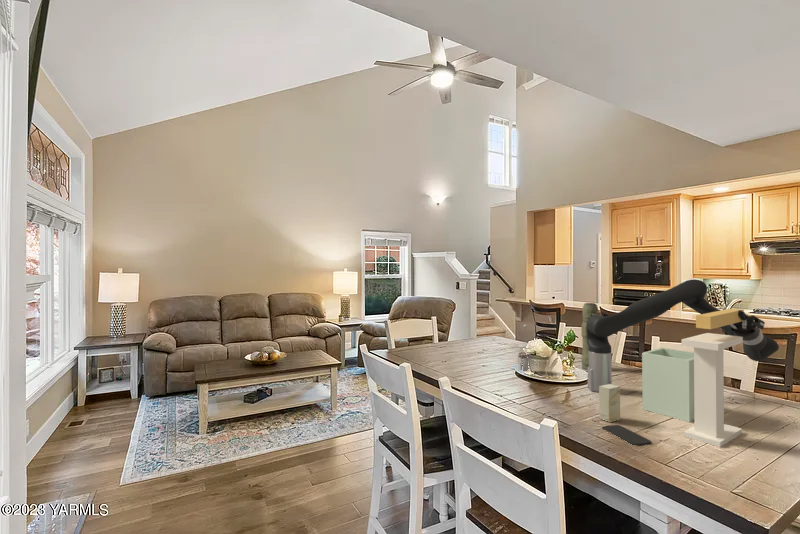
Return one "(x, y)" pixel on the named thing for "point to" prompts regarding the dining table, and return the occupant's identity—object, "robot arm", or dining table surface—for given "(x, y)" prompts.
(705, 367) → the shelf stand
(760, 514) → the dining table surface
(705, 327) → the box
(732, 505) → the dining table surface
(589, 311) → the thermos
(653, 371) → the tote
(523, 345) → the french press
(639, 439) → the phone
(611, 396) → the skincare box
